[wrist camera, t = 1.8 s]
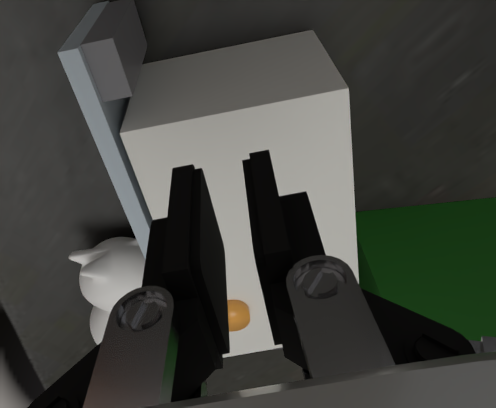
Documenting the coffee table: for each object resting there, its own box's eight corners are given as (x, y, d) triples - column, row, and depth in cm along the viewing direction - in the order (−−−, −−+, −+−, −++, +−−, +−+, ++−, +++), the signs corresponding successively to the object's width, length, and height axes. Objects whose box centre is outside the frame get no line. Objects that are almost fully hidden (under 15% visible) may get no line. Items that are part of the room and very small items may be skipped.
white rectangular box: (139, 64, 33) (116, 140, 24) (312, 29, 32) (352, 94, 23) (210, 283, 46) (211, 384, 37) (334, 261, 45) (365, 358, 37)
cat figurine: (81, 301, 33) (128, 402, 40) (209, 232, 37) (231, 333, 44) (44, 243, 39) (90, 339, 46) (158, 190, 43) (185, 284, 50)
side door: (93, 3, 30) (57, 52, 22) (134, -5, 29) (110, 41, 22) (165, 205, 39) (156, 285, 32) (195, 199, 39) (194, 278, 32)
